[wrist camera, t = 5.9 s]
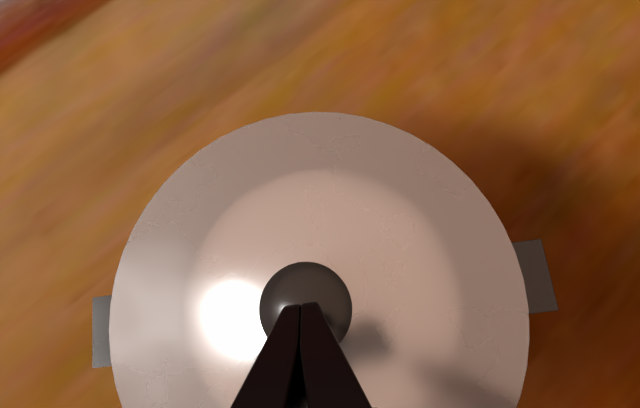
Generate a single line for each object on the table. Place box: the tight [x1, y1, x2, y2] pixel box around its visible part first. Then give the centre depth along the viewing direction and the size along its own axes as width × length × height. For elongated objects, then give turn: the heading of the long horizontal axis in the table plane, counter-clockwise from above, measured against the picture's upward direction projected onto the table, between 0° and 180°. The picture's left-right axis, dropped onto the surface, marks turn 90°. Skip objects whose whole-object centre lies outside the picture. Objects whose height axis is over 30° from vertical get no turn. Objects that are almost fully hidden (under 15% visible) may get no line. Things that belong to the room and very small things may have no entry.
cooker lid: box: [109, 112, 530, 408], centre depth 11 cm, size 14×13×3 cm
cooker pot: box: [93, 239, 559, 368], centre depth 15 cm, size 12×16×5 cm
